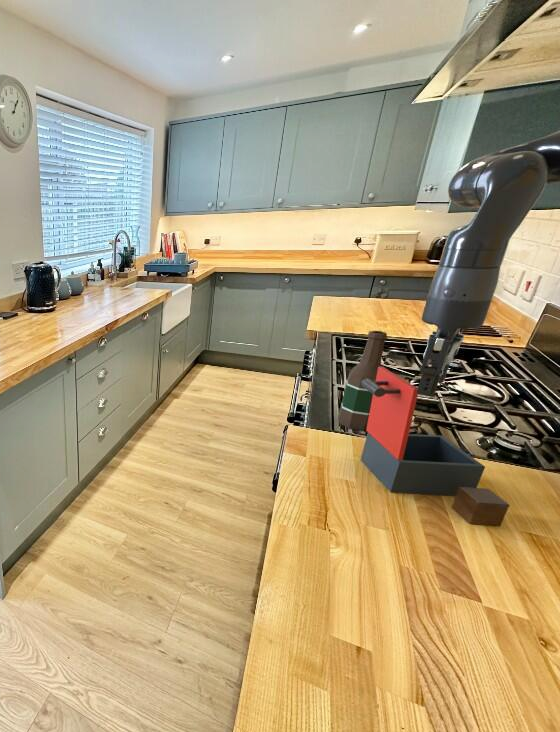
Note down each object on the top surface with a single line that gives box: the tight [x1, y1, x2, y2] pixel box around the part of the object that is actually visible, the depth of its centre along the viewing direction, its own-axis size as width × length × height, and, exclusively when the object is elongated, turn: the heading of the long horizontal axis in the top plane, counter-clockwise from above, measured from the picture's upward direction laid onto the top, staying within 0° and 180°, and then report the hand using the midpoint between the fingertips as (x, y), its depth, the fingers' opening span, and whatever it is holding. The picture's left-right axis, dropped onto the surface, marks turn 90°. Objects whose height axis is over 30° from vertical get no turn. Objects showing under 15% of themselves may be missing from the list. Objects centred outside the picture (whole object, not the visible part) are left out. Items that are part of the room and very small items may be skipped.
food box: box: [360, 432, 486, 497], centre depth 83 cm, size 14×12×7 cm
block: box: [451, 487, 510, 527], centre depth 72 cm, size 4×4×4 cm
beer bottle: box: [338, 330, 388, 432], centre depth 101 cm, size 8×8×24 cm
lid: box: [361, 366, 419, 460], centre depth 80 cm, size 14×12×5 cm
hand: (430, 387), depth 73 cm, fingers open, 8 cm apart
